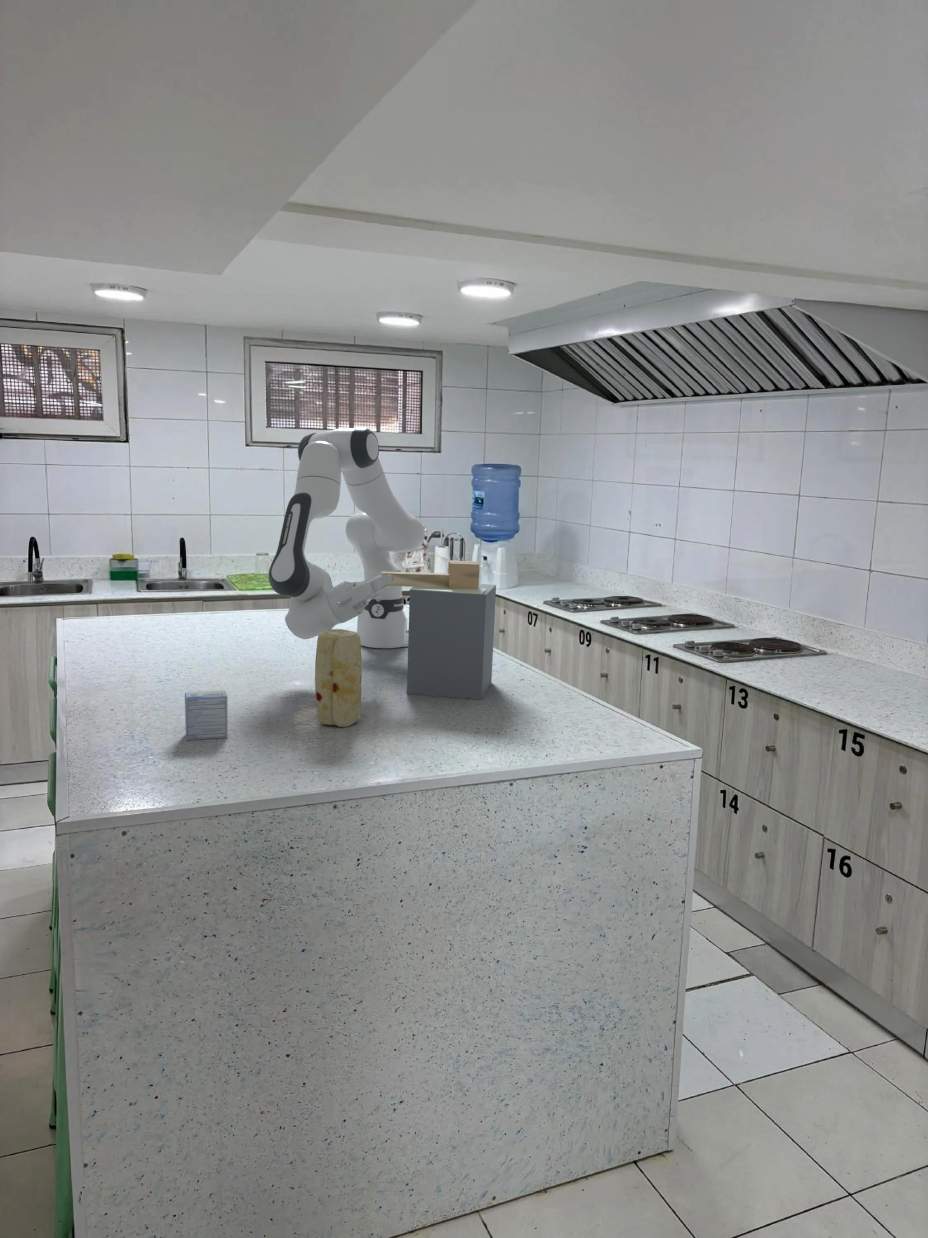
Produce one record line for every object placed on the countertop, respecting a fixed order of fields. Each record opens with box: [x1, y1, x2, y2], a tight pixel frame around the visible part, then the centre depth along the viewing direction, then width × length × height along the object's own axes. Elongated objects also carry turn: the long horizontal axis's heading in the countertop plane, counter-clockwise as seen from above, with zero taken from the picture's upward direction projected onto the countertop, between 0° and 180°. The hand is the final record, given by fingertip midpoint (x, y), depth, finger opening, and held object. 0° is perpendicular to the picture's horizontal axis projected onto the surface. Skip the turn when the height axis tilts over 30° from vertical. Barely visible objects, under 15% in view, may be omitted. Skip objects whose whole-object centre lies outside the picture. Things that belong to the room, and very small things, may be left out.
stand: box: [406, 583, 497, 701], centre depth 214 cm, size 17×18×25 cm
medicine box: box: [184, 689, 229, 741], centre depth 172 cm, size 8×4×9 cm, turn 108°
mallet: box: [381, 560, 480, 590], centre depth 210 cm, size 6×23×6 cm, turn 94°
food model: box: [314, 628, 363, 728], centre depth 182 cm, size 10×7×20 cm
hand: (396, 574), depth 209 cm, fingers open, 8 cm apart
